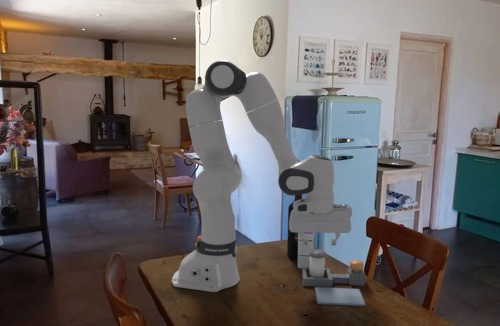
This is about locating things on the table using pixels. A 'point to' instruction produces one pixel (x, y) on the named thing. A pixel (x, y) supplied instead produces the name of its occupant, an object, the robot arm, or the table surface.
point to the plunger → (356, 265)
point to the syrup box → (305, 249)
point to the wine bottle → (292, 235)
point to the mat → (339, 296)
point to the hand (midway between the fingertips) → (319, 244)
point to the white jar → (317, 263)
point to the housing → (334, 278)
